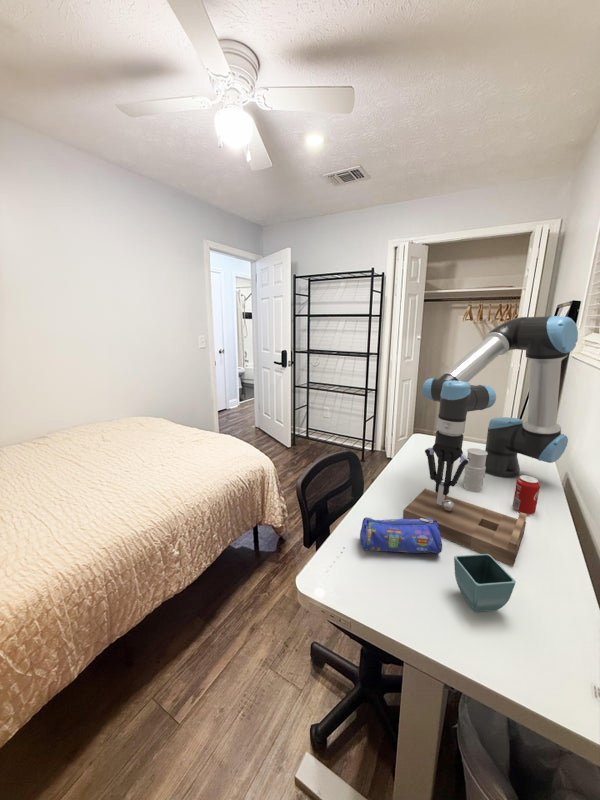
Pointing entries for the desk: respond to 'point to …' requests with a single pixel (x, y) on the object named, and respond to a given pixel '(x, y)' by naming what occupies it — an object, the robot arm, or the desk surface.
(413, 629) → the desk surface
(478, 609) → the flower pot
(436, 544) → the pencil case
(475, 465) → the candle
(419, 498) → the board
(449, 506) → the ball
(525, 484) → the beverage can
